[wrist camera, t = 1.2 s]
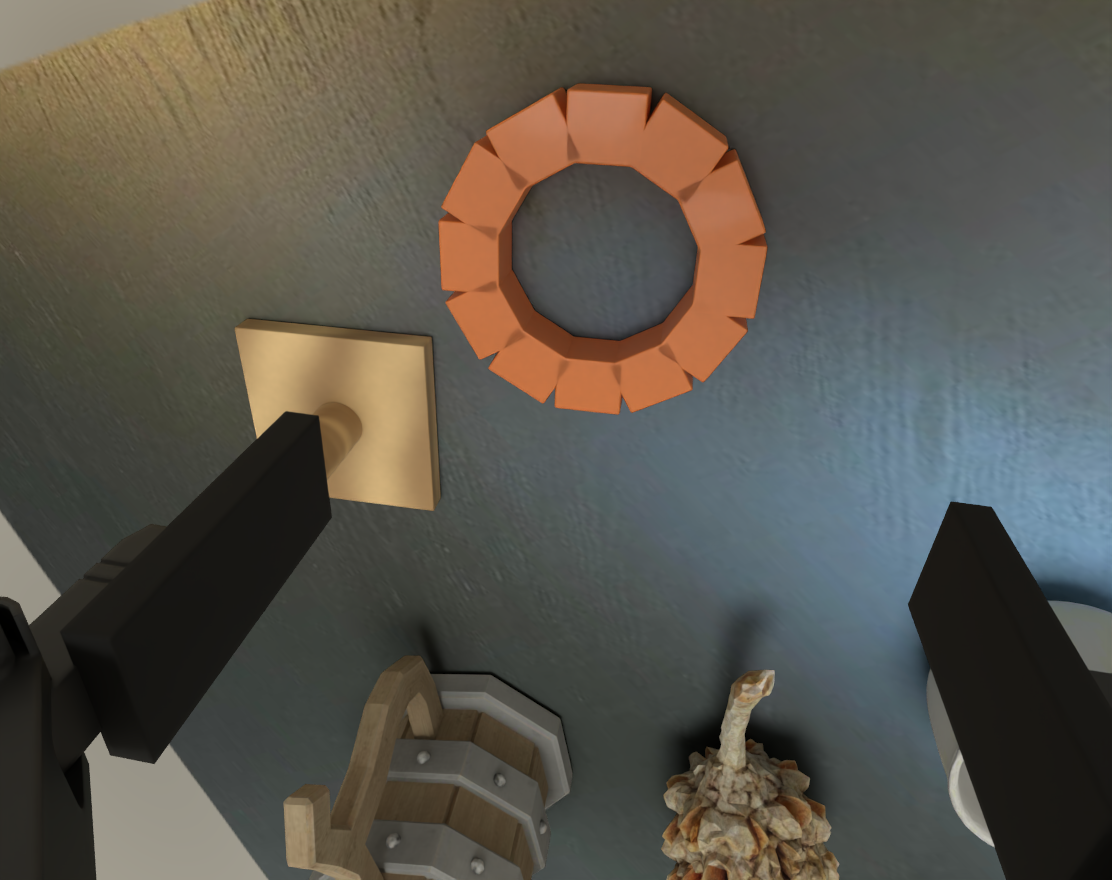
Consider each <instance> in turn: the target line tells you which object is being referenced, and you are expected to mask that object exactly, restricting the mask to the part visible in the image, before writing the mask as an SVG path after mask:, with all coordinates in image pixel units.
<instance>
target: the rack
mask: <svg viewBox="0 0 1112 880" xmlns="http://www.w3.org/2000/svg"><path fill="white" fill-rule="evenodd" d="M235 333H236V338H237V343H238V348H239V353H240V358H241V362H242V367H243V372H244V377H245V382H246V387H247V392H248V397H249V402H250V407H251V412H252V417H253V421H254V426H255V431H256V436H257V438H258V437H259V436H261V435H262V434H263V433H264V432H265V431H266V430H267V429H268V428H269V427H270V426H271V425H272V424H273V423H274V422H275V421H276V420H277V419H278V418H279V417H280V416H281V415H282V414H283V413H284V412H285V411H289V412H296V413H304V414H311V415H318V416H319V420H320V428H321V436H322V444H323V452H324V460H325V468H326V476H327V484H328V491H329V497H330V498H338V499H346V500H353V501H361V502H369V503H376V504H384V505H392V506H399V507H407V508H415V509H423V510H430V511H434V510H435V508H436V506H437V504H438V502H439V500H440V498H441V495H440V477H439V459H438V441H437V423H436V405H435V387H434V369H433V351H432V338H431V337H426V336H416V335H406V334H396V333H386V332H376V331H366V330H356V329H346V328H336V327H326V326H316V325H306V324H296V323H286V322H276V321H266V320H256V319H246V320H245V321H244V322H242V323H241V324H239V325H238V326H236V327H235Z"/></svg>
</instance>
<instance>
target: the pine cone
mask: <svg viewBox="0 0 1112 880" xmlns="http://www.w3.org/2000/svg"><path fill="white" fill-rule="evenodd" d="M773 686H774V670H755V671H748V672H746V673H745V674H743V675H742V676H741V677H739V678H738V679H737V680H736V681H735V682H734V683H733V684H732V685H731V693H730V695H729V700H728V704H727V708H726V711H725V716H724V720H723V723H722V726H721V729H722V731H721V734H720V736H719V738H720V741H721V748H720V750H717V749H713V748H710V747H706V749H705V758H704V757H703V756H702V755H700V754H699V753H698V752H694V753H692V754H691V755H690V756H689V760H690V765H691V767H690V770H689V772H684V773H683V774H679V775H674V776H672V777H671V778H670V779H669V780H668V781H667V787H668V791H667V792H666V793H665V794H664V795H663V796H664V799H665V802H666V805H667V807H669V808H671V809H672V810H674V811H675V812H677V814H676V815H675V817H674V818H673V820H672V821H671V823H670V824H669V825H668V827H667V828H666V830H665V831H664V833H663V835H662V836H663V838H664V839H665V841H664V843H663V846H662V848H661V850H662V851H663V852H664V853H665V854H666V855H667V856H668V857H670V858H671V859H673V860H675V861H676V862H677V863H676V865H675V868H674V869H673V870H672V872H671V873H670V874H669V875H668V877H667V880H839V874H838V873H837V868H838V866H839V863H838V861H837V860H836V858H835V856H834V855H833V853H832V852H830V851H828V850H827V848H826V847H825V845H824V844H823V843H822V842H825V841H827V840H828V838H829V836H830V834H831V832H830V829H831V826H830V824H829V823H828V821H827V819H826V817H825V806H824V805H822V804H820V803H818V802H816V801H814V800H812V799H810V798H808V797H807V796H806V795H805V794H803V792H804V791H805V790H806V789H807V788H808V787H809V782H810V778H809V777H807V776H806V775H804V774H803V773H801V772H800V771H798V768H797V764H796V761H792V760H784V761H782V762H781V761H779V760H778V759H776V758H771V759H770V758H769V757H768V755H767V754H766V753H765V752H764V750H763V743H756V742H754V741H753V740H752V739H749V740H748V741H747V742H745V731H746V726H747V724H748V722H749V718H750V713H751V710H752V709H753V707H754V706H755V705H756V704H757V703H758V702H759V701H760V699H761V698H762V697H764V696H767V695H770V693H771V691H772V688H773Z"/></svg>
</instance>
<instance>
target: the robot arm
mask: <svg viewBox="0 0 1112 880" xmlns="http://www.w3.org/2000/svg"><path fill="white" fill-rule="evenodd" d="M331 518H332V515H331V507H330V499H329V491H328V484H327V476H326V468H325V460H324V452H323V444H322V436H321V428H320V420H319V416H318V415H311V414H304V413H296V412H289V411H285V412H284V413H283V414H282V415H281V416H280V417H279V418H278V419H277V420H276V421H275V422H274V423H273V424H272V425H271V426H270V427H269V428H268V429H267V430H266V431H265V432H264V433H263V434H262V435H261V436H259V437H258V438H257V439H256V440H255V441H254V442H253V443H252V444H251V445H250V446H249V447H248V448H247V449H246V450H245V451H244V452H243V453H242V454H241V455H240V456H239V457H238V458H237V459H236V460H235V461H234V462H233V463H232V464H231V465H230V466H229V467H228V468H227V469H226V470H225V471H224V472H223V473H222V474H221V475H220V476H218V477H217V478H216V479H215V480H214V481H213V482H212V483H211V484H210V485H209V486H208V487H207V488H206V489H205V490H204V491H203V492H202V493H201V494H200V495H199V496H198V497H197V498H196V499H195V500H194V501H193V502H192V503H191V504H190V505H189V506H188V507H187V508H186V509H185V510H184V511H183V512H182V513H181V514H180V515H178V516H177V517H176V518H175V519H174V520H173V521H172V522H171V523H170V524H169V525H168V526H167V527H166V526H160V525H154V524H150V525H148V526H146V527H145V528H143V529H141V530H139V531H137V532H135V533H133V534H132V535H130V536H128V537H126V538H124V539H122V540H121V541H120V542H119V543H118V544H117V545H116V546H115V547H114V548H113V549H111V550H110V551H109V552H108V553H107V554H106V555H105V556H104V557H103V558H102V559H101V562H100V563H96V564H95V565H94V566H93V567H92V568H91V569H90V570H89V571H88V572H87V573H85V574H84V578H83V579H79V580H78V581H77V582H76V583H75V584H73V585H72V586H71V587H70V588H69V589H68V590H67V591H66V592H65V593H64V594H63V595H62V596H60V597H59V598H58V599H57V600H56V601H55V602H54V603H53V604H52V605H51V606H50V607H49V608H47V609H46V610H45V611H44V612H43V613H42V614H41V615H40V616H39V617H38V618H37V619H36V620H35V621H33V622H32V623H31V624H30V625H28V622H27V620H26V618H25V616H24V614H23V611H22V609H21V606H20V604H19V603H18V602H16V601H14V600H12V599H10V598H8V597H0V880H96V867H95V851H94V835H93V819H92V803H91V788H90V773H89V763H88V761H87V758H86V756H85V753H84V751H85V750H86V748H87V747H88V746H89V745H90V744H91V742H92V741H93V740H94V739H95V738H96V737H97V735H98V734H99V733H100V732H101V734H102V736H103V739H104V741H105V744H106V746H107V748H108V751H109V753H110V755H111V756H117V757H122V758H127V759H132V760H137V761H142V762H147V763H152V764H155V762H156V761H157V760H158V758H159V757H160V756H161V754H162V753H163V751H164V750H165V748H166V747H167V746H168V744H169V743H170V742H171V740H172V739H173V737H174V736H175V735H176V733H177V732H178V730H179V729H180V728H181V726H182V725H183V724H184V722H185V721H186V719H187V718H188V717H189V715H190V714H191V712H192V711H193V710H194V708H195V707H196V705H197V704H198V703H199V701H200V700H201V698H202V697H203V696H204V694H205V693H206V692H207V690H208V689H209V687H210V686H211V685H212V683H213V682H214V680H215V679H216V678H217V676H218V675H219V673H220V672H221V671H222V669H223V668H224V666H225V665H226V664H227V662H228V661H229V660H230V658H231V657H232V655H233V654H234V653H235V651H236V650H237V648H238V647H239V646H240V644H241V643H242V641H243V640H244V639H245V637H246V636H247V634H248V633H249V632H250V630H251V629H252V628H253V626H254V625H255V623H256V622H257V621H258V619H259V618H260V616H261V615H262V614H263V612H264V611H265V609H266V608H267V607H268V605H269V604H270V602H271V601H272V600H273V598H274V597H275V596H276V594H277V593H278V591H279V590H280V589H281V587H282V586H283V584H284V583H285V582H286V580H287V579H288V577H289V576H290V575H291V573H292V572H293V570H294V569H295V568H296V566H297V565H298V564H299V562H300V561H301V559H302V558H303V557H304V555H305V554H306V552H307V551H308V550H309V548H310V547H311V545H312V544H313V543H314V541H315V540H316V539H317V537H318V536H319V534H320V533H321V532H322V530H323V529H324V527H325V526H326V525H327V523H328V522H329V520H330V519H331ZM908 606H909V609H910V612H911V615H912V618H913V620H914V623H915V626H916V629H917V632H918V634H919V637H920V640H921V643H922V646H923V648H924V651H925V654H926V657H927V660H928V662H929V665H930V668H931V671H932V673H933V676H934V679H935V682H936V685H937V687H938V690H939V693H940V696H941V699H942V701H943V704H944V707H945V710H946V713H947V715H948V718H949V721H950V724H951V727H952V729H953V732H954V735H955V738H956V741H957V743H958V746H959V749H960V752H961V755H962V757H963V760H964V763H965V766H966V768H967V771H968V774H969V777H970V780H971V782H972V785H973V788H974V791H975V794H976V796H977V799H978V802H979V805H980V808H981V810H982V813H983V816H984V819H985V822H986V824H987V827H988V830H989V833H990V836H991V838H992V841H993V844H994V847H995V850H996V852H997V855H998V858H999V861H1000V864H1001V866H1002V869H1003V872H1004V875H1005V877H1006V880H1112V673H1106V672H1099V671H1093V670H1089V669H1088V668H1087V666H1086V664H1085V663H1084V661H1083V659H1082V657H1081V656H1080V654H1079V652H1078V651H1077V649H1076V647H1075V646H1074V644H1073V642H1072V641H1071V639H1070V637H1069V636H1068V634H1067V632H1066V631H1065V629H1064V627H1063V626H1062V624H1061V622H1060V621H1059V619H1058V617H1057V616H1056V614H1055V612H1054V611H1053V609H1052V607H1051V606H1050V604H1049V602H1048V601H1047V599H1046V597H1045V596H1044V594H1043V592H1042V591H1041V589H1040V587H1039V585H1038V584H1037V582H1036V580H1035V579H1034V577H1033V575H1032V574H1031V572H1030V570H1029V569H1028V567H1027V565H1026V564H1025V562H1024V560H1023V559H1022V557H1021V555H1020V554H1019V552H1018V550H1017V549H1016V547H1015V545H1014V544H1013V542H1012V540H1011V539H1010V537H1009V535H1008V534H1007V532H1006V530H1005V529H1004V527H1003V525H1002V524H1001V522H1000V520H999V519H998V517H997V515H996V513H995V512H994V510H993V508H992V507H988V506H981V505H973V504H966V503H959V502H950V504H949V507H948V509H947V512H946V514H945V517H944V519H943V521H942V524H941V526H940V529H939V531H938V533H937V536H936V538H935V541H934V543H933V545H932V548H931V550H930V553H929V555H928V558H927V560H926V562H925V565H924V567H923V570H922V572H921V574H920V577H919V579H918V582H917V584H916V586H915V589H914V591H913V594H912V596H911V599H910V601H909V603H908Z"/></svg>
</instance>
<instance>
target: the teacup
mask: <svg viewBox="0 0 1112 880" xmlns="http://www.w3.org/2000/svg"><path fill="white" fill-rule="evenodd" d="M1048 602H1049V604H1050V606H1051V607H1052V609H1053V611H1054V612H1055V614H1056V616H1057V617H1058V619H1059V621H1060V622H1061V624H1062V626H1063V627H1064V629H1065V631H1066V632H1067V634H1068V636H1069V637H1070V639H1071V641H1072V642H1073V644H1074V646H1075V647H1076V649H1077V651H1078V652H1079V654H1080V656H1081V657H1082V659H1083V661H1084V663H1085V664H1086V666H1087V668H1088V669H1089V670H1093V671H1099V672H1106V673H1112V613H1110V612H1108V611H1105V610H1102V609H1099V608H1096V607H1092V606H1088V605H1084V604H1078V603H1073V602H1064V601H1048ZM927 705H928V712H929V717H930V721H931V726H932V730H933V733H934V737H935V740H936V744H937V747H938V751H939V754H940V757H941V760H942V763H943V767H944V770H945V773H946V776H947V779H948V791H949V796H950V799H951V802H952V804H953V807H954V809H955V811H956V813H957V814H958V816H959V817H960V819H961V820H962V822H963V823H964V824H965V825H966V826H967V827H968V828H969V829H970V830H971V831H972V832H973V833H974V834H976V835H977V836H978V837H979V838H980V839H982V840H983V841H985V842H986V843H988V844H989V845H991V846H993V847H994V844H993V841H992V838H991V836H990V833H989V830H988V827H987V824H986V822H985V819H984V816H983V813H982V810H981V808H980V805H979V802H978V799H977V796H976V794H975V791H974V788H973V785H972V782H971V780H970V777H969V774H968V771H967V768H966V766H965V763H964V760H963V757H962V755H961V752H960V749H959V746H958V743H957V741H956V738H955V735H954V732H953V729H952V727H951V724H950V721H949V718H948V715H947V713H946V710H945V707H944V704H943V701H942V699H941V696H940V693H939V690H938V687H937V685H936V682H935V679H934V676H933V673H932V671H931V669H930V672H929V675H928V681H927Z"/></svg>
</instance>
